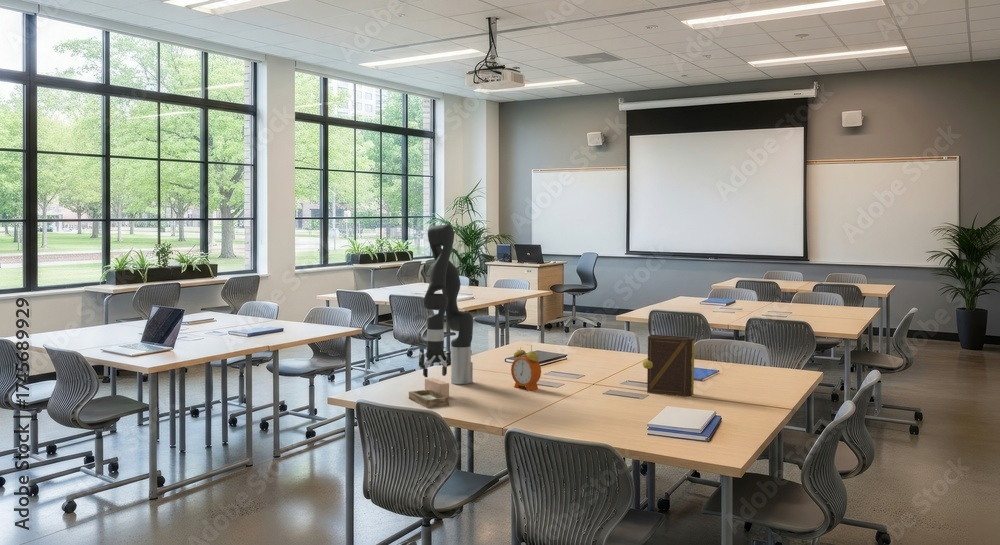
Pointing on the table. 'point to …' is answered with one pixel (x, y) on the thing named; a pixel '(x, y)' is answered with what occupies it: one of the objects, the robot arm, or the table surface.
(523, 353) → the alarm clock
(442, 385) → the strip
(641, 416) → the table surface
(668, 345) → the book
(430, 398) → the picture frame
